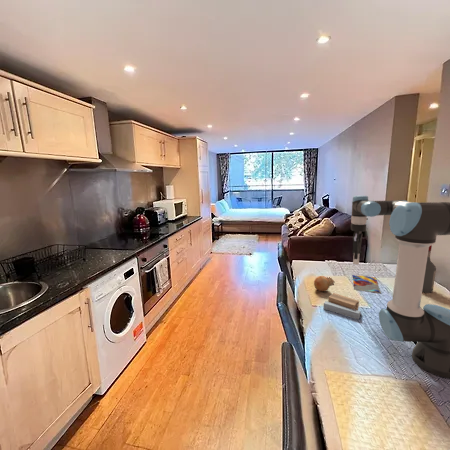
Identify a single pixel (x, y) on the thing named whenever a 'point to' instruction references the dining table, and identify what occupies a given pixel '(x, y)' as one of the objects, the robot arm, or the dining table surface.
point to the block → (343, 301)
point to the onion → (321, 283)
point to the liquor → (429, 274)
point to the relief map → (366, 284)
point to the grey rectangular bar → (342, 310)
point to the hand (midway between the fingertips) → (355, 263)
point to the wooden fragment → (330, 281)
